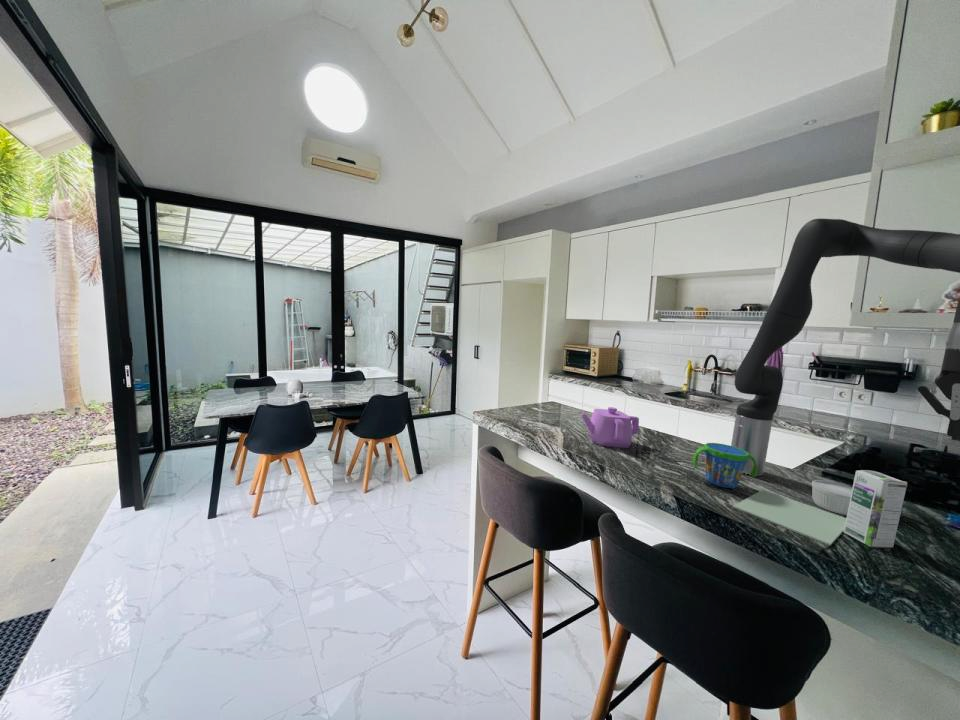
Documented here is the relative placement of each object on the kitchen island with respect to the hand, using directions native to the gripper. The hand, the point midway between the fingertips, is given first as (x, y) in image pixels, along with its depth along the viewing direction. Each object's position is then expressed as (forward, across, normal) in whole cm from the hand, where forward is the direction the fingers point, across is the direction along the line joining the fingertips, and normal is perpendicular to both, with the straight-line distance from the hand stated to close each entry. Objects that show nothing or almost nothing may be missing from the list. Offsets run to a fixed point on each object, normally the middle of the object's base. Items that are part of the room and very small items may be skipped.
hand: (957, 440), depth 73 cm
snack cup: (+25, +39, -3) cm, 46 cm away
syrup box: (+25, +9, -1) cm, 27 cm away
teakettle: (+25, +78, -5) cm, 82 cm away
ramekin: (+25, +17, -16) cm, 35 cm away
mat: (+25, +22, +1) cm, 33 cm away
